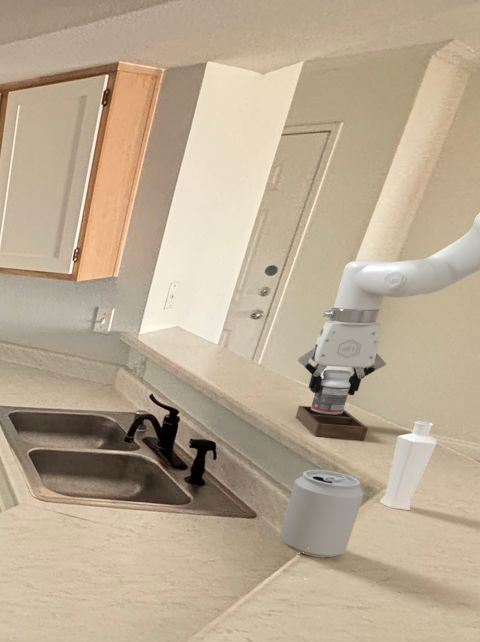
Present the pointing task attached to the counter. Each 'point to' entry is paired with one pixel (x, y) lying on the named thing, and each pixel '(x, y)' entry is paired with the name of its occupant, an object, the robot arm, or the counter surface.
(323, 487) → the can
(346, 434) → the brown wooden tray
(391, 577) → the counter surface
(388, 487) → the perfume bottle
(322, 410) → the pill bottle
